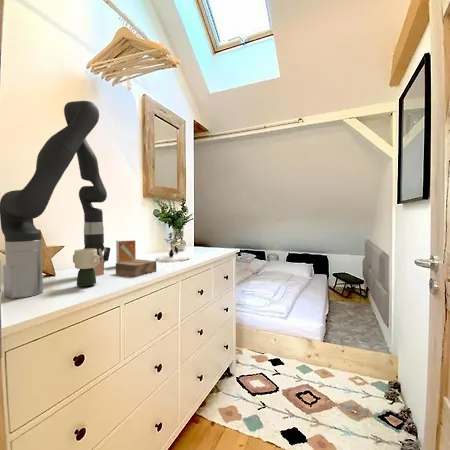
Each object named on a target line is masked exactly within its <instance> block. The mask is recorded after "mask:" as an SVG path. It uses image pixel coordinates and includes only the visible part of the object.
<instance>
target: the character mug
mask: <svg viewBox="0 0 450 450" xmlns="http://www.w3.org/2000/svg"><path fill="white" fill-rule="evenodd" d="M72 263H73V264H74V268H75V269H77V270H78V272H77V276H76V277H77V278H76V286H77V287H82V288H83V287H87V286H89V287H91V286H92V285H96V284H97V276H95V271H94V269H93V267H96V266H97V264H99V263H100V257H99V255H97V249H84V248H81V249H80V248H79V249H75V250H74V254H73V255H72Z"/></svg>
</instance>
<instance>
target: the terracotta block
mask: <svg viewBox="0 0 450 450" xmlns="http://www.w3.org/2000/svg"><path fill="white" fill-rule="evenodd" d="M93 269H94V271H95V277H97V276H102V275H103V276H104V273H105V272H104V270H105V262H103V260H100V263H99V264H97V266H96V267H93Z"/></svg>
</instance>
